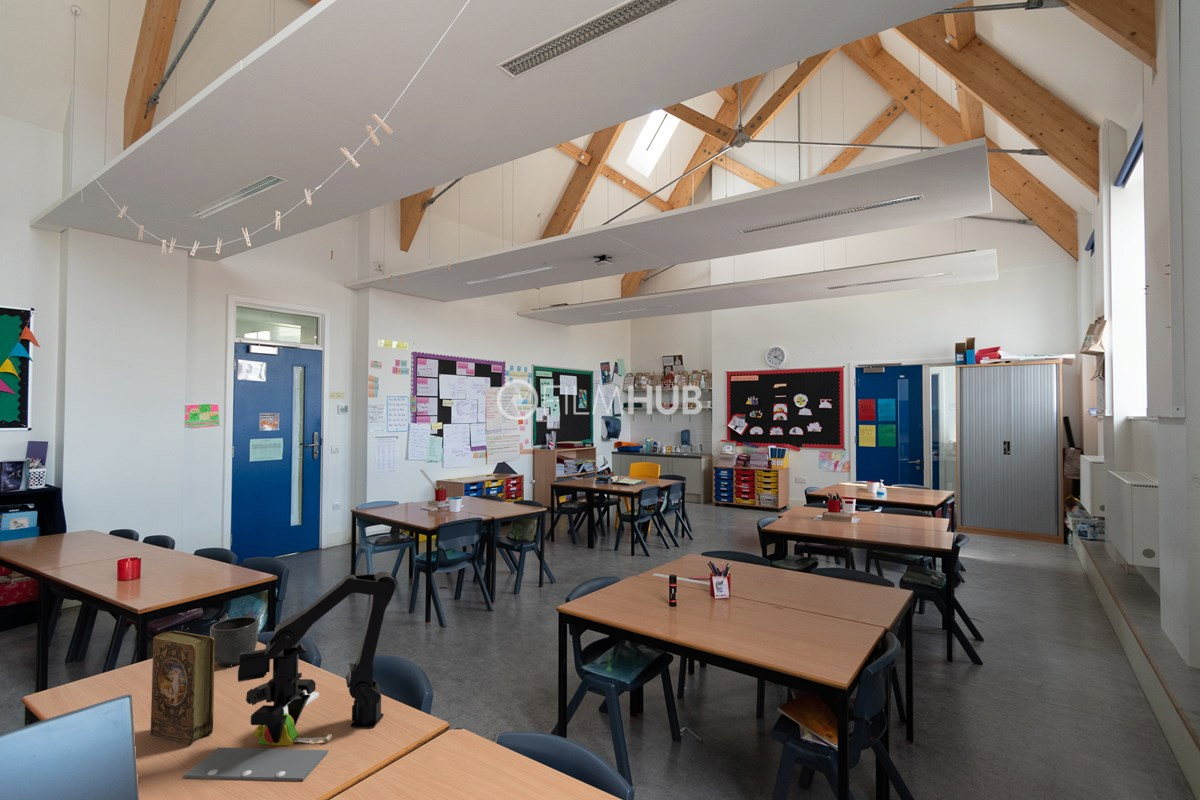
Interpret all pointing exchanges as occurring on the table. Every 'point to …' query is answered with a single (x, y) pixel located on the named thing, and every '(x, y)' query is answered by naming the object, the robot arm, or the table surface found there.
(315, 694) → the external hard drive
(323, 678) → the table surface
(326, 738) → the toy measuring tape
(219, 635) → the planter
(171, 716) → the book
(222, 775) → the marked mat
